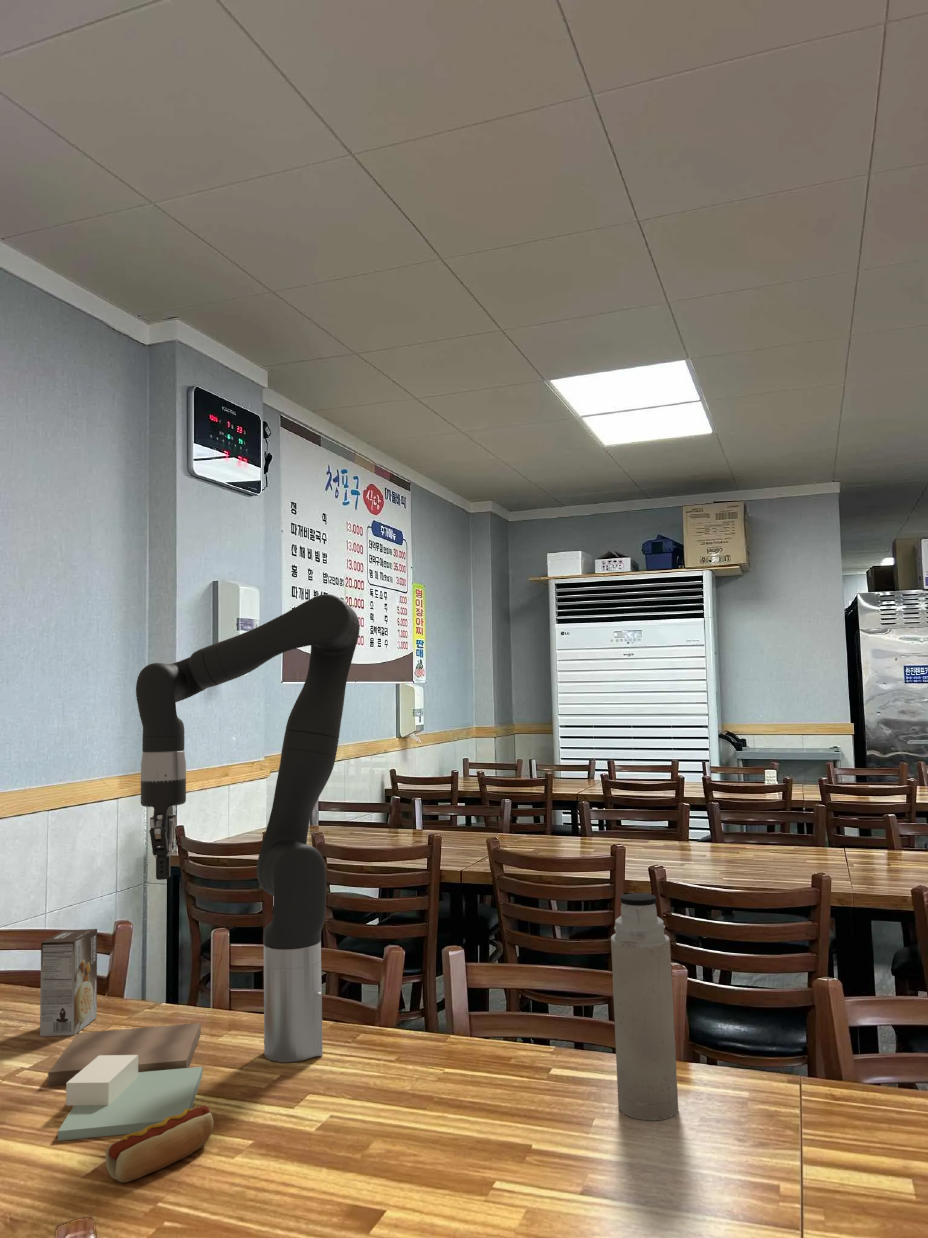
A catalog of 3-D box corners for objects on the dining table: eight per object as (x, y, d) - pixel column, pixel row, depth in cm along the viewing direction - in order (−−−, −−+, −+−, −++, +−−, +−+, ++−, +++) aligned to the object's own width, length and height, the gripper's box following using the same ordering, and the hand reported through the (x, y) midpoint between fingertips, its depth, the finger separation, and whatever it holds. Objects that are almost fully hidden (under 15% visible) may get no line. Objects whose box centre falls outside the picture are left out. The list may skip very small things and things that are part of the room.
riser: (200, 1035, 154) (200, 1023, 154) (186, 1074, 137) (186, 1060, 138) (77, 1045, 151) (77, 1033, 151) (47, 1086, 134) (48, 1072, 134)
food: (123, 1195, 103) (123, 1149, 103) (96, 1181, 106) (97, 1137, 107) (222, 1146, 114) (221, 1105, 115) (195, 1135, 117) (195, 1095, 118)
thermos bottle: (626, 1091, 127) (617, 888, 129) (683, 1100, 123) (672, 891, 126) (611, 1115, 119) (601, 899, 122) (671, 1125, 116) (660, 903, 119)
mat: (202, 1075, 137) (202, 1066, 137) (185, 1128, 119) (185, 1118, 119) (92, 1085, 134) (92, 1076, 134) (57, 1141, 117) (58, 1131, 117)
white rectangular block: (138, 1076, 134) (138, 1055, 134) (108, 1105, 124) (108, 1082, 124) (98, 1076, 134) (99, 1055, 135) (66, 1105, 124) (66, 1083, 125)
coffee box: (63, 1019, 165) (64, 929, 166) (97, 1018, 164) (98, 928, 166) (38, 1037, 155) (40, 941, 157) (74, 1036, 155) (76, 940, 157)
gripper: (180, 779, 151) (180, 884, 149) (190, 774, 164) (190, 871, 162) (133, 781, 150) (133, 887, 148) (147, 775, 163) (147, 873, 161)
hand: (163, 878), depth 155 cm, fingers closed
